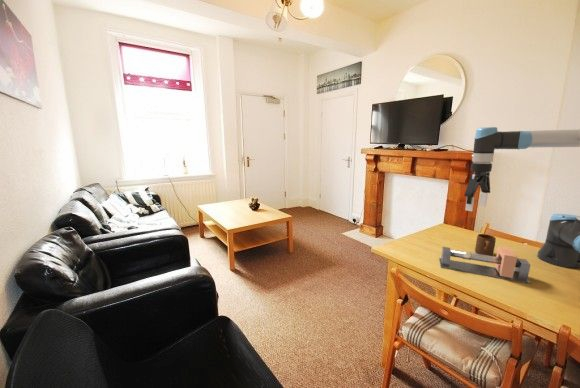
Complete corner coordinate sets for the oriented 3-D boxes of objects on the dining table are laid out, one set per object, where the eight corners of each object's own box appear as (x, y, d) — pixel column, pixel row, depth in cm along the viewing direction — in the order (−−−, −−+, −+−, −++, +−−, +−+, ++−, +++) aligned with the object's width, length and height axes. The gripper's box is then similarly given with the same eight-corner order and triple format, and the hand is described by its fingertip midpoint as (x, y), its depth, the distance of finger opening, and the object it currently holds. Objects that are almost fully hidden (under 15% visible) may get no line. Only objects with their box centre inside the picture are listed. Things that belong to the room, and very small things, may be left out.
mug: (495, 261, 124) (499, 243, 122) (476, 258, 128) (479, 240, 125) (491, 252, 134) (494, 235, 132) (473, 249, 138) (476, 232, 136)
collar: (505, 267, 116) (509, 247, 114) (512, 278, 107) (517, 257, 105) (494, 265, 118) (498, 246, 115) (500, 276, 109) (504, 255, 107)
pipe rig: (522, 273, 113) (525, 257, 112) (530, 283, 105) (534, 266, 104) (439, 259, 127) (441, 244, 125) (440, 267, 119) (442, 251, 117)
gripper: (484, 160, 125) (478, 202, 130) (459, 164, 112) (453, 210, 117) (503, 161, 119) (496, 205, 124) (479, 165, 106) (472, 214, 110)
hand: (475, 208), depth 120 cm, fingers open, 13 cm apart
